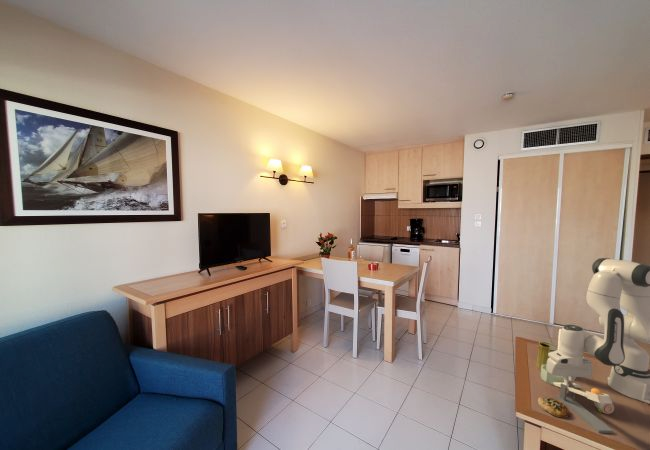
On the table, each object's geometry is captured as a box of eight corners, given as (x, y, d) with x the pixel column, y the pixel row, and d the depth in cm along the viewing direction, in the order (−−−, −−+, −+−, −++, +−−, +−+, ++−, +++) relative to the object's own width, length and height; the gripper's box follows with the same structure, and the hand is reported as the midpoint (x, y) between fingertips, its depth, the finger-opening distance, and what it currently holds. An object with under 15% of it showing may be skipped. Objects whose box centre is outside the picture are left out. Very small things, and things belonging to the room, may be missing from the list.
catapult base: (556, 396, 125) (557, 381, 125) (568, 397, 125) (569, 382, 125) (598, 432, 105) (600, 414, 105) (613, 432, 105) (615, 414, 105)
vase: (552, 372, 145) (554, 348, 144) (540, 370, 146) (541, 347, 145) (545, 365, 151) (546, 343, 150) (533, 364, 152) (535, 341, 151)
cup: (553, 375, 142) (554, 365, 142) (569, 387, 133) (570, 376, 132) (536, 374, 142) (536, 364, 142) (551, 386, 133) (551, 375, 132)
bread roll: (571, 410, 117) (571, 400, 116) (566, 425, 110) (566, 415, 109) (540, 397, 125) (540, 387, 125) (534, 410, 119) (534, 401, 118)
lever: (548, 384, 130) (546, 377, 131) (573, 385, 130) (571, 378, 131) (599, 403, 105) (597, 395, 106) (630, 404, 105) (628, 396, 106)
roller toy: (591, 407, 119) (592, 395, 119) (605, 407, 119) (606, 396, 119) (601, 414, 115) (602, 402, 114) (615, 415, 115) (616, 403, 114)
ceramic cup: (550, 367, 150) (552, 350, 149) (533, 357, 159) (534, 342, 159) (566, 364, 153) (567, 348, 152) (548, 354, 163) (549, 340, 162)
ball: (601, 399, 109) (594, 390, 112) (606, 395, 107) (599, 387, 110) (593, 399, 109) (586, 390, 112) (598, 395, 107) (591, 386, 110)
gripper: (585, 354, 130) (582, 380, 131) (544, 352, 131) (542, 378, 132) (598, 362, 124) (595, 388, 125) (555, 359, 124) (553, 386, 125)
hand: (568, 383), depth 128 cm, fingers closed, pressing on lever
